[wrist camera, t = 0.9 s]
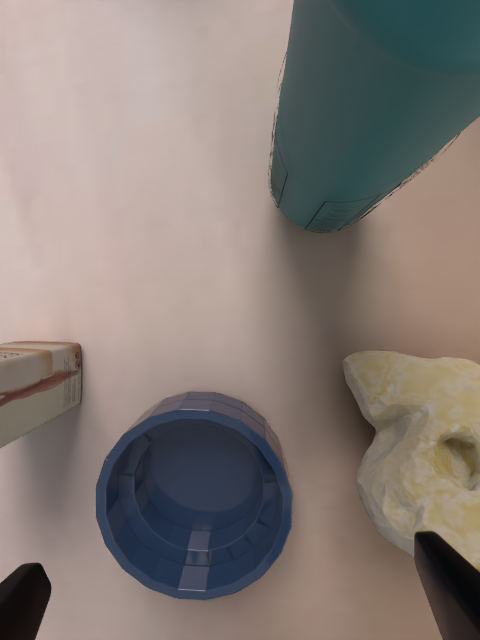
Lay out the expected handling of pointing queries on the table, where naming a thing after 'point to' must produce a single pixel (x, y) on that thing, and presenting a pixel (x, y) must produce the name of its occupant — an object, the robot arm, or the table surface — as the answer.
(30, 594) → the robot arm
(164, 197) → the table surface
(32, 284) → the table surface
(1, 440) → the pushpin icon carton
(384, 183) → the beverage bottle
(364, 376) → the cheese
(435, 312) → the table surface
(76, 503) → the table surface
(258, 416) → the dish
